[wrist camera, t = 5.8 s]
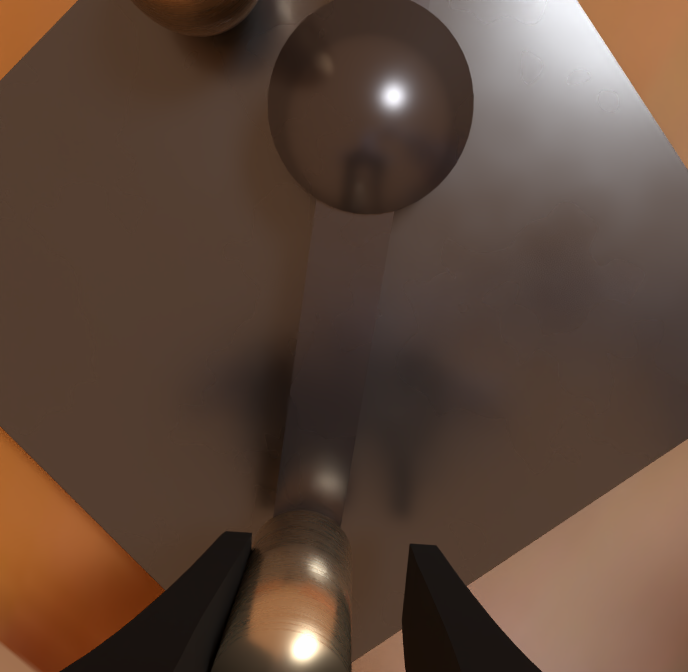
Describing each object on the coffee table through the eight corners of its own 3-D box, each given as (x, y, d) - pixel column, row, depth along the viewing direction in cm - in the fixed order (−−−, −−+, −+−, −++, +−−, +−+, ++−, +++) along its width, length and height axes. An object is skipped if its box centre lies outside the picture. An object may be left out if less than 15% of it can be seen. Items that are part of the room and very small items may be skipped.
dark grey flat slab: (769, 346, 13) (957, 398, 9) (288, 672, 16) (265, 828, 12) (374, -249, 11) (385, -548, 7) (-124, 254, 13) (-340, 264, 9)
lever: (306, -165, 9) (264, -503, 5) (512, -130, 9) (646, -437, 5) (222, 563, 13) (154, 735, 8) (375, 586, 13) (385, 769, 8)
